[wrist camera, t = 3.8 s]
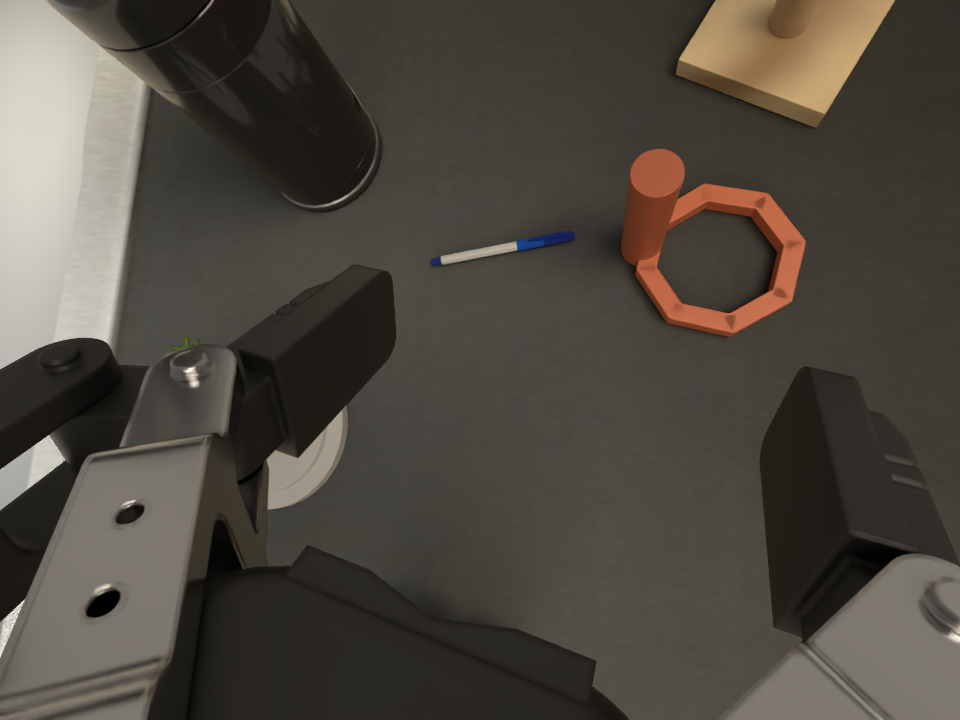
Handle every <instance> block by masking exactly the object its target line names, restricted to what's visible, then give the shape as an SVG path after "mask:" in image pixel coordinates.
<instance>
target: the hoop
mask: <svg viewBox="0 0 960 720" xmlns="http://www.w3.org/2000/svg"><path fill="white" fill-rule="evenodd" d="M684 176H685V167H684V164H683V162H682V160H681V159H680V158H679V156H677V155H676V154H675V153H673V152H671V151H669V150H665V149H653V150H649V151H647V152H645V153H643V154H642V155H640V156H639V157H638V158H637V159H636V160H635V161H634V163H633V165H632V167H631V170H630V176H629V184H628V193H627V201H626V210H625V218H624V226H623V235H622V243H621V253H622V256H623V258H624V259H625V260H626V261H627V262H628V263H630V264H632V265H634V266H637V268H636V273H635V275H636V277H637V279H638V280H639V282H640V283H641V285H642V286H643V288H644V289H645V291H646V292H647V294H648V295H649V297H650V298H651V300H652V301H653V303H654V304H655V306H656V307H657V309H658V310H659V312H660V313H661V315H662V317H663V318H664V320H665V321H666V322H667V323H669V324H674V325H678V326H683V327H687V328H692V329H696V330H700V331H705V332H709V333H714V334H718V335H723V336H727V337H731V336H732V335H734V334H736V333H738V332H740V331H741V330H743V329H745V328H747V327H749V326H751V325H752V324H754V323H756V322H758V321H760V320H761V319H763V318H765V317H767V316H769V315H771V314H772V313H774V312H776V311H778V310H780V309H781V308H783V307H785V306H786V305H788V304H789V303H790V302H792V299H793V295H794V291H795V286H796V282H797V278H798V274H799V269H800V265H801V261H802V257H803V253H804V248H805V244H806V241H805V240H804V238H803V237H802V236H801V235H800V233H799V232H798V231H797V229H796V228H795V227H794V226H793V224H792V223H791V222H790V221H789V219H788V218H787V217H786V215H785V214H784V213H783V212H782V210H781V209H780V208H779V206H778V205H777V204H776V203H775V201H774V200H773V199H772V197H771V196H770V195H769V194H768V193H763V192H756V191H750V190H743V189H737V188H730V187H724V186H717V185H711V184H703V185H701V186H699V187H698V188H696V189H694V190H693V191H691V192H689V193H687V194H686V195H684V196H682V197H681V198H679V199H677V198H678V195H679V192H680V189H681V186H682V183H683V180H684ZM703 209H707V210H713V211H719V212H725V213H731V214H737V215H743V216H749V217H751V218H752V219H753V221H754V222H755V223H756V225H757V226H758V227H759V229H760V230H761V231H762V232H763V234H764V235H765V236H766V238H767V239H768V240H769V242H770V243H771V244H772V246H773V247H774V248H775V250H776V251H777V256H776V260H775V264H774V268H773V273H772V277H771V281H770V285H769V289H768V292H767V293H765V294H764V295H762V296H760V297H758V298H756V299H755V300H753V301H751V302H749V303H747V304H746V305H744V306H742V307H740V308H738V309H737V310H735V311H733V312H731V313H725V312H720V311H715V310H711V309H706V308H701V307H697V306H692V305H687V304H683V303H681V302H680V300H679V299H678V297H677V296H676V294H675V293H674V292H673V290H672V289H671V287H670V286H669V284H668V283H667V281H666V280H665V278H664V277H663V275H662V274H661V272H660V271H659V269H658V268H657V263H658V260H659V256H660V252H661V248H662V245H663V242H664V239H665V235H666V232H667V230H669V229H671V228H673V227H674V226H676V225H678V224H679V223H681V222H683V221H685V220H686V219H688V218H690V217H691V216H693V215H695V214H697V213H698V212H700V211H702V210H703Z"/></svg>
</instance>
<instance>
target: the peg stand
mask: <svg viewBox="0 0 960 720" xmlns="http://www.w3.org/2000/svg"><path fill="white" fill-rule="evenodd" d="M894 1H895V0H715V2H714V4H713V5H712V7H711V8H710V10H709V12H708V13H707V15H706V16H705V18H704V20H703V21H702V23H701V24H700V26H699V28H698V29H697V31H696V33H695V34H694V36H693V37H692V39H691V41H690V42H689V44H688V45H687V47H686V49H685V50H684V52H683V53H682V55H681V57H680V58H679V60H678V65H677V70H676V75H678V76H680V77H683V78H685V79H688V80H691V81H693V82H696V83H699V84H701V85H704V86H707V87H709V88H712V89H714V90H717V91H720V92H722V93H725V94H728V95H730V96H733V97H735V98H738V99H741V100H743V101H746V102H749V103H751V104H754V105H757V106H759V107H762V108H764V109H767V110H770V111H772V112H775V113H778V114H780V115H783V116H785V117H788V118H791V119H793V120H796V121H799V122H801V123H804V124H807V125H809V126H812V127H814V128H816V127H817V125H818V124H819V122H820V121H821V120H822V118H823V117H824V115H825V114H826V112H827V110H828V109H829V107H830V106H831V104H832V102H833V101H834V99H835V97H836V96H837V94H838V92H839V91H840V89H841V88H842V86H843V84H844V83H845V81H846V79H847V78H848V76H849V75H850V73H851V71H852V70H853V68H854V66H855V65H856V63H857V61H858V60H859V58H860V57H861V55H862V53H863V52H864V50H865V48H866V47H867V45H868V44H869V42H870V40H871V39H872V37H873V35H874V34H875V32H876V31H877V29H878V27H879V26H880V24H881V22H882V21H883V19H884V17H885V16H886V14H887V13H888V11H889V9H890V8H891V6H892V4H893V3H894Z"/></svg>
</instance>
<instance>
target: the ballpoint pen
mask: <svg viewBox="0 0 960 720" xmlns="http://www.w3.org/2000/svg"><path fill="white" fill-rule="evenodd" d="M574 238H575V233H574V232H573V231H567V232H559V233H554V234H549V235H544V236H540V237H539V236H538V237H535V238H533V237H532V238H527V239H523V240H518V241H516V242H511V243H506V244H501V245H496V246H490V247H485V248H480V249H475V250H470V251H465V252H460V253H455V254H449V255H444V256H440V257H438V258H435V259H432V260H431V265H444V264H450V263H455V262H460V261H465V260H470V259H476V258H481V257H486V256H491V255H496V254H502V253H507V252H512V251H517V250H520V251H521V250H524V249H525V250H527V249H529V248H531V249H532V248H535V247H536V248H537V247H540V246H547V245H552V244H558V243H562V242H566V241H570V240H573V239H574Z"/></svg>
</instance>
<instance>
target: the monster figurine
mask: <svg viewBox="0 0 960 720" xmlns="http://www.w3.org/2000/svg"><path fill="white" fill-rule="evenodd" d="M181 336H182V337H183V338H184V339H185V344H184V345H183V346H182V347H175V346H170V348H172V349H173V350H178V349H181V348H184V347H189V346H190V345H189V339H188V337H186V336H184V335H181ZM194 345H199V339H195V344H194ZM194 345H191V346H194ZM347 430H348V413H347V407H346V406H345V407H344V408H343V410H342V411H341V412H340V413H339V414H338V415H337V416H336V417H335V418H334V419H333V421H332V422H331V423H330V424H329V425H328V426H327V427H326V428H325V429H324V430H323V432H322V433H321V434H320V435H319V436H318V437H317V438H316V439H315V440H314V442H313V443H312V444H311V445H310V446H309V447H308V448H307V449H306V450H305V451H304V453H303V454H302V455H301V456H300V457H299V458H296V457H293V456H290V455H287V454H284V453H281V452H279V451H276V450H275V451H274V452H273V453H272V454H271V455H270V456H269V457H268V458H267V462H268V465H269V488H268V509H277V508H282V507H286V506H291V505H294V504H296V503H298V502H301V501H303V500H305V499H306V498H308V497H309V496H311V495H312V494H314V493H315V492H316V491H317V490H318V489H319V488H320V487H322V486H323V485H324V483H325V482H326V481H327V480H328V479H329V477H330V476H331V475H332V473H333V471H334V470H335V468H336V466H337V465H338V463H339V460H340V458H341V456H342V453H343V450H344V447H345V443H346V439H347Z"/></svg>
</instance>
